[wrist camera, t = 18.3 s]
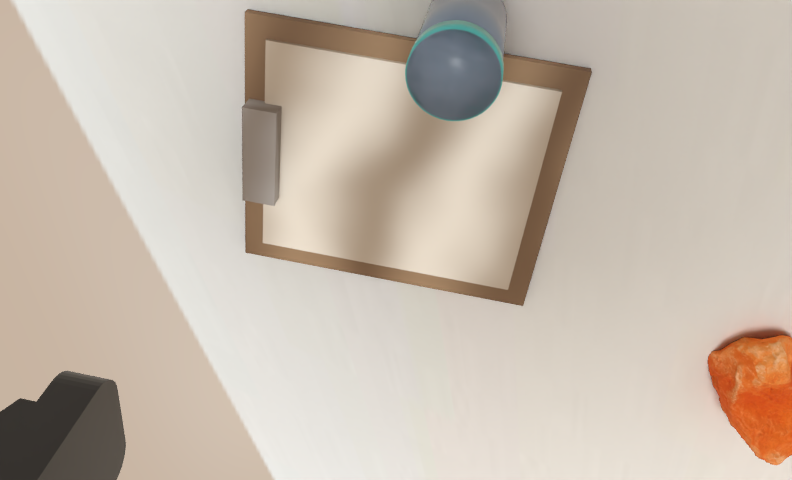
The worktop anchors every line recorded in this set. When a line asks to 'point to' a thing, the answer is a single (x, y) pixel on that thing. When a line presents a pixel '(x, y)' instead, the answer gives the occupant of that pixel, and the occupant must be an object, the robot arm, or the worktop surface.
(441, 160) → the clipboard
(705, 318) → the worktop surface
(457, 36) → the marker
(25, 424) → the robot arm
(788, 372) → the rock
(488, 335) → the worktop surface
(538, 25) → the worktop surface
